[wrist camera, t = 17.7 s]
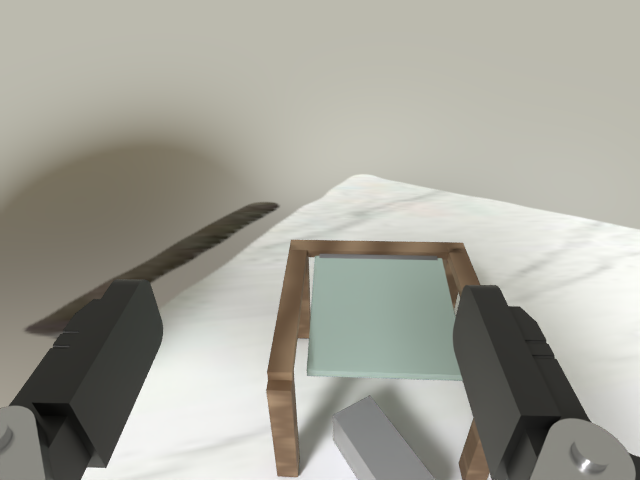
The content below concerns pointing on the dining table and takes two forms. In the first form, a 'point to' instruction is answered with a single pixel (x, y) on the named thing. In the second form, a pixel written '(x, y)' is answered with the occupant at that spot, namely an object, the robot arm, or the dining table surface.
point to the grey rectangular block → (375, 445)
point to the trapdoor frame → (297, 325)
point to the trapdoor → (381, 318)
